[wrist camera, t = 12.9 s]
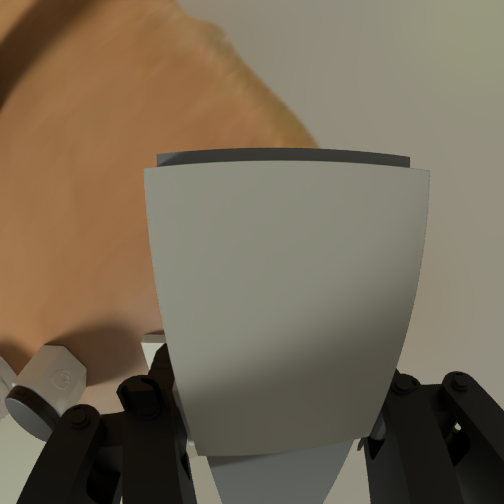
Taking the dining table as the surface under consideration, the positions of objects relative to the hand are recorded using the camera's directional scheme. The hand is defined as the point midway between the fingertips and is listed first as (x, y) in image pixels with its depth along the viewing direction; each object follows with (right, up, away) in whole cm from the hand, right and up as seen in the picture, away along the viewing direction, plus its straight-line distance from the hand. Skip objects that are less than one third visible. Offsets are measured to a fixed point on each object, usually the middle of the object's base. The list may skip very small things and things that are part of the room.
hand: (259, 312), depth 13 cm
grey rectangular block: (0, 0, 0) cm, 0 cm away
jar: (-28, -14, +18) cm, 36 cm away
